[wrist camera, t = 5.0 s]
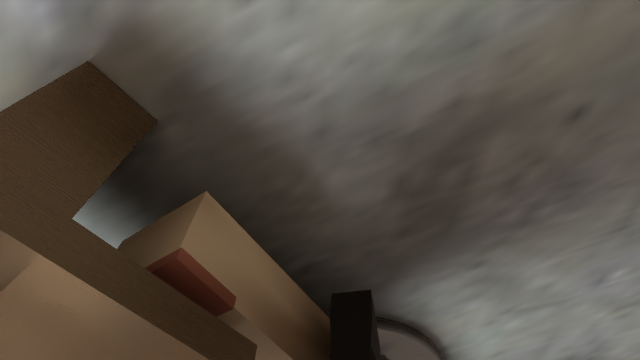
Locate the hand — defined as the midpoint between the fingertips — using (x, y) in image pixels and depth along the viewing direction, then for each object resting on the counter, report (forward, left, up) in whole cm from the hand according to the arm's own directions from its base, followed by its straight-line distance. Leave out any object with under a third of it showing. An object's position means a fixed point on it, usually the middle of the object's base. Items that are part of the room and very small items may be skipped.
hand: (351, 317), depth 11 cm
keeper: (+6, +3, -1) cm, 6 cm away
